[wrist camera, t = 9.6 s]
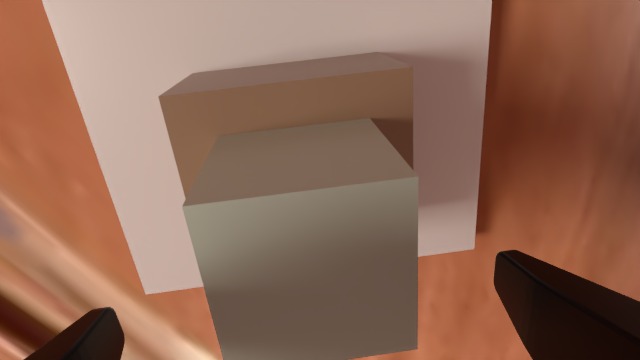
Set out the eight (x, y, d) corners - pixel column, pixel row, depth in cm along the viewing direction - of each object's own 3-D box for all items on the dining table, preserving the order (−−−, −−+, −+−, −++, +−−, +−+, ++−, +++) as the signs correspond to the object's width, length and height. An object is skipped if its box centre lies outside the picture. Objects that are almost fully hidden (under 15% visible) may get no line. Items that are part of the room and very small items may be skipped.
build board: (484, -147, 16) (608, -245, 10) (462, 234, 23) (526, 312, 17) (26, -105, 15) (-142, -181, 9) (153, 277, 22) (107, 374, 16)
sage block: (369, 117, 13) (418, 176, 8) (375, 245, 15) (417, 348, 10) (218, 135, 13) (182, 206, 8) (244, 263, 15) (228, 376, 10)
